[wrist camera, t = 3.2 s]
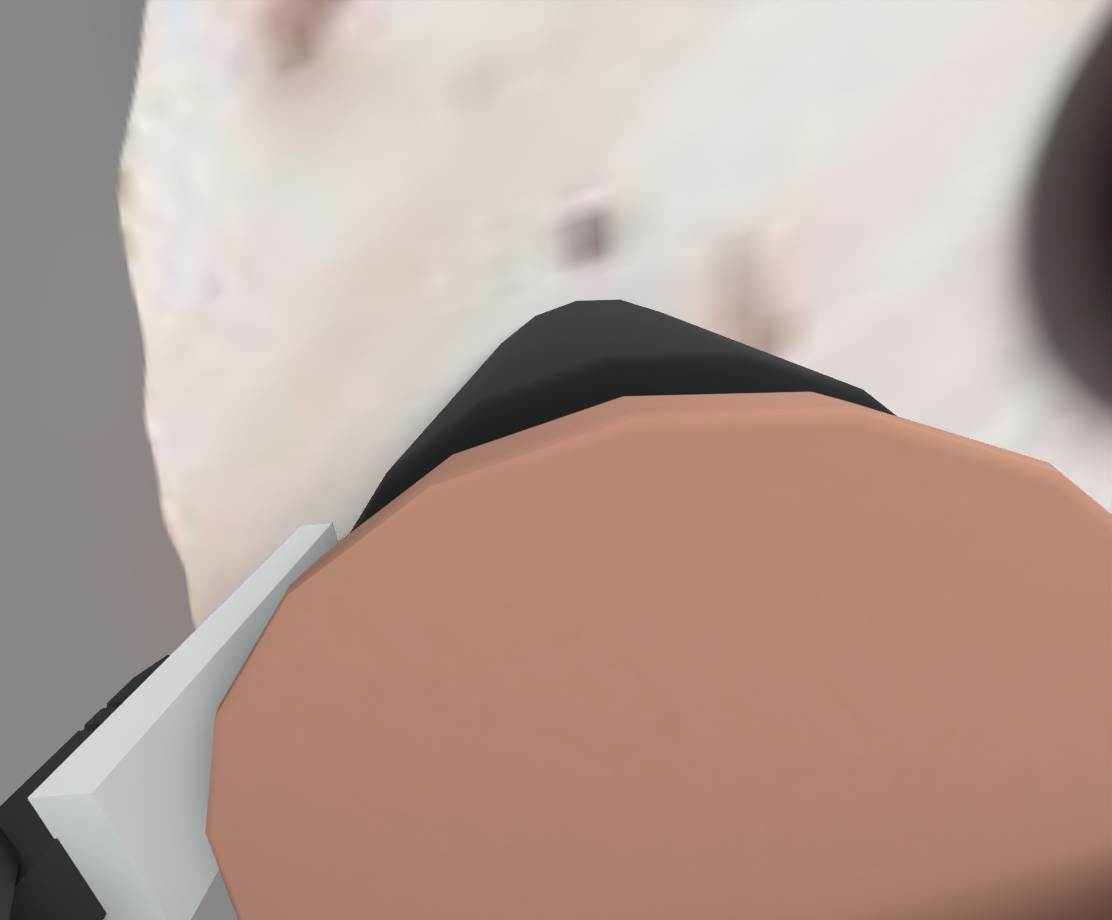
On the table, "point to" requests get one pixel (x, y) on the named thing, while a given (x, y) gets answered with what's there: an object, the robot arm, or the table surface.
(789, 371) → the coffee jar
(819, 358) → the table surface
